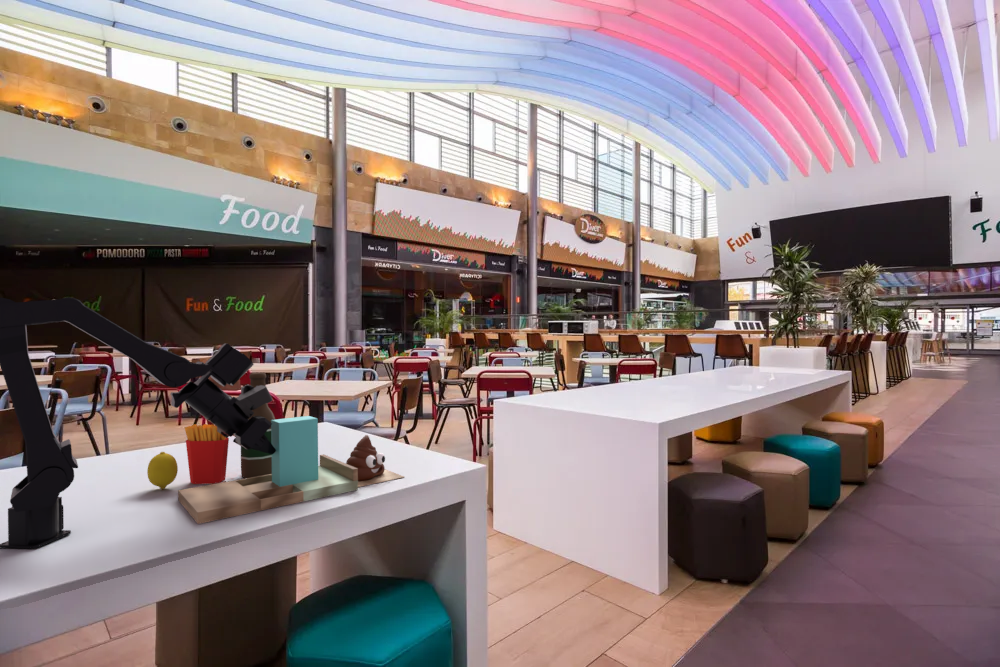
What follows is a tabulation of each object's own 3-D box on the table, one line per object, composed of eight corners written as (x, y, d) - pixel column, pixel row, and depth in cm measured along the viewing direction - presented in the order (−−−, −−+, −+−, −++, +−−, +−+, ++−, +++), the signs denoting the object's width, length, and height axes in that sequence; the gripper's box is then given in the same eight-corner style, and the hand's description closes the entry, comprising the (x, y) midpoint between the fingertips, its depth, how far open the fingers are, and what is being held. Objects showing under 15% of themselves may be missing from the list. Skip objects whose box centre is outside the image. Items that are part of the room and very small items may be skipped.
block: (279, 486, 109) (279, 422, 109) (271, 481, 113) (271, 420, 113) (318, 479, 114) (317, 418, 114) (309, 474, 118) (308, 415, 118)
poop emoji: (365, 469, 130) (364, 430, 130) (393, 473, 126) (393, 433, 126) (335, 479, 121) (334, 438, 121) (364, 484, 117) (364, 441, 117)
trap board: (197, 523, 94) (197, 498, 94) (178, 500, 108) (178, 477, 108) (357, 489, 113) (357, 468, 113) (324, 473, 127) (323, 454, 127)
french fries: (231, 478, 123) (231, 422, 123) (222, 483, 119) (221, 425, 119) (192, 479, 123) (191, 422, 123) (180, 484, 119) (180, 425, 119)
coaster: (351, 488, 114) (351, 487, 114) (326, 476, 124) (326, 475, 124) (404, 477, 123) (404, 476, 123) (377, 466, 132) (377, 466, 132)
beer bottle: (264, 479, 122) (263, 374, 122) (233, 478, 123) (232, 374, 123) (283, 470, 130) (282, 371, 130) (254, 470, 131) (252, 371, 131)
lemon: (163, 493, 112) (162, 455, 112) (141, 491, 114) (140, 454, 114) (183, 485, 118) (183, 449, 118) (162, 484, 119) (162, 448, 119)
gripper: (259, 375, 100) (318, 427, 107) (232, 370, 115) (286, 416, 122) (213, 422, 95) (278, 473, 102) (191, 411, 109) (249, 456, 117)
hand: (274, 452), depth 111 cm, fingers closed, pressing on block
